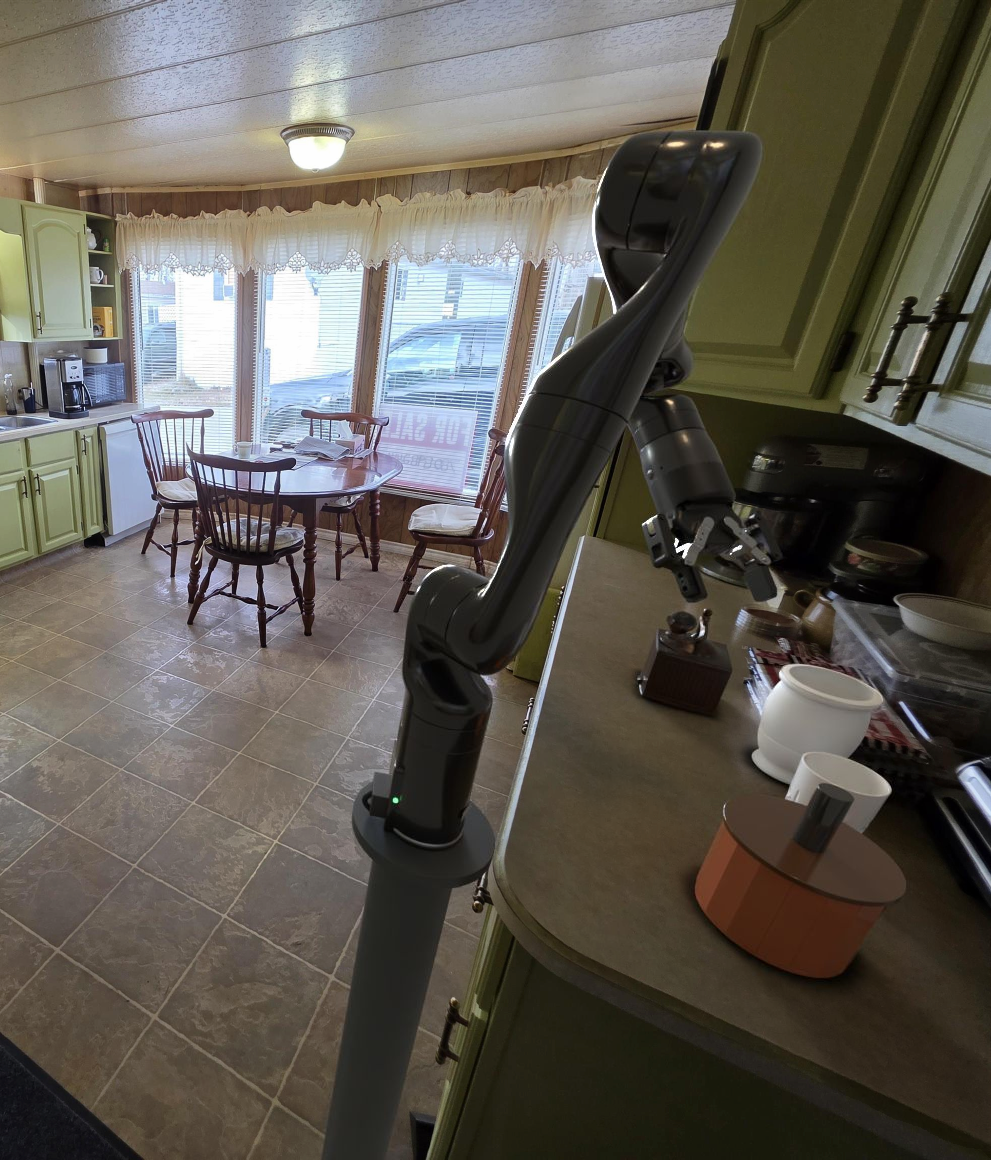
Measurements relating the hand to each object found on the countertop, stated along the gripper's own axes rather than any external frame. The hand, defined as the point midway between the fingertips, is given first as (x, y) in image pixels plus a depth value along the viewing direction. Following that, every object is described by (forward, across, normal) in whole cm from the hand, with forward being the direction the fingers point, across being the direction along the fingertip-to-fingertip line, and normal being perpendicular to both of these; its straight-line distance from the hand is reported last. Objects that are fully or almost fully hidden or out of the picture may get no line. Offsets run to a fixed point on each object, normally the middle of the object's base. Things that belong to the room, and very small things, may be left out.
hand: (732, 600), depth 69 cm
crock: (+33, +1, +10) cm, 35 cm away
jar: (+18, +26, +26) cm, 41 cm away
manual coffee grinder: (+5, +24, +39) cm, 46 cm away
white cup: (+26, +18, +18) cm, 36 cm away
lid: (+26, +1, +3) cm, 26 cm away
